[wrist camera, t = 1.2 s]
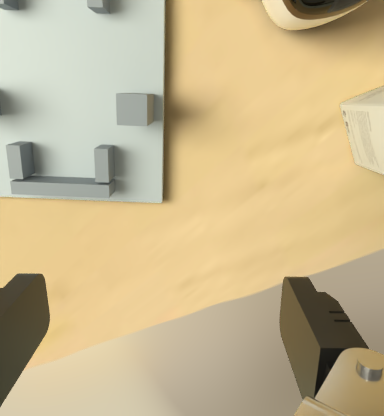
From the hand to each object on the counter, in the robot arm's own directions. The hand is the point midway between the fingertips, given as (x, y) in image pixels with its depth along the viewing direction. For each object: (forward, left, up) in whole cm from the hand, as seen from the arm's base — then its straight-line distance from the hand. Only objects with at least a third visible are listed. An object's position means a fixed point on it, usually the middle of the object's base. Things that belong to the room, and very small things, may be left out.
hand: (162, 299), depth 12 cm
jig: (-7, -11, -25) cm, 28 cm away
